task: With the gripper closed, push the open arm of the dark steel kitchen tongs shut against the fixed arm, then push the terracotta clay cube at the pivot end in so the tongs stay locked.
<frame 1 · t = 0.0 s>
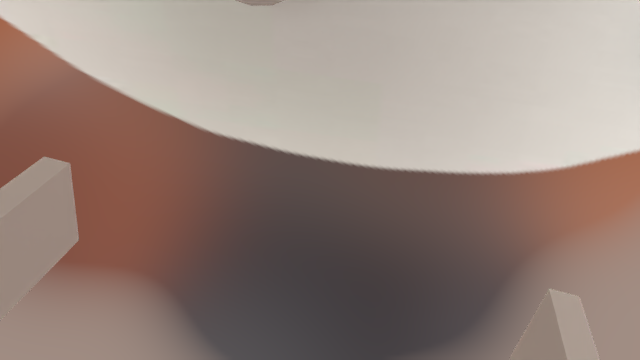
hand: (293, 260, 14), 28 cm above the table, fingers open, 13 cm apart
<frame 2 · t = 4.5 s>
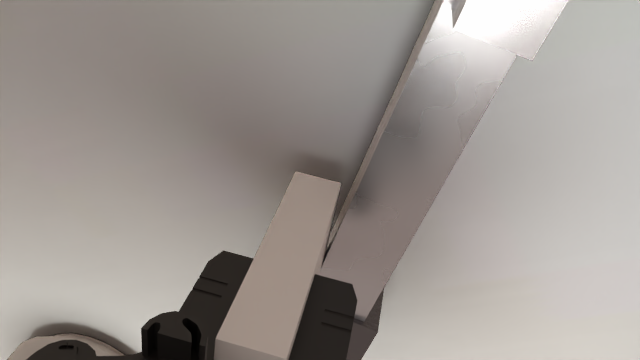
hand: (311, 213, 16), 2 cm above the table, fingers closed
tongs arm: (422, 138, 13), point 2 cm above the table, hinge at 39.3°, touching gripper
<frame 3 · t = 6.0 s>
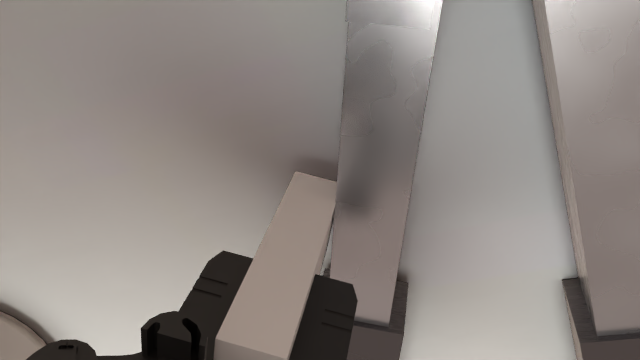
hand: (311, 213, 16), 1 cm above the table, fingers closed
tongs arm: (380, 132, 13), point 2 cm above the table, hinge at 23.1°, touching gripper
can: (6, 344, 27), on the table
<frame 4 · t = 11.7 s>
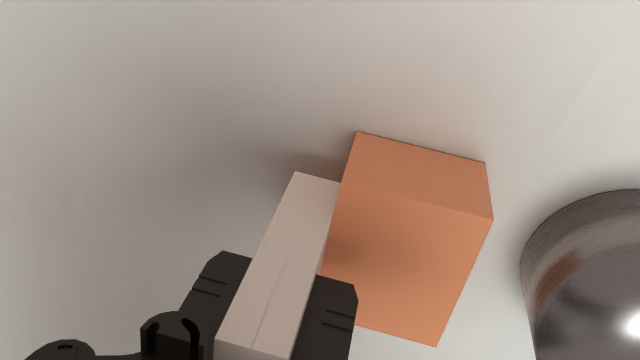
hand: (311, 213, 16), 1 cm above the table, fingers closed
terracotta clay cube: (396, 239, 16), point 1 cm above the table, slide at 1.8 cm, touching gripper
tongs fixed: (619, 268, 17), on the table
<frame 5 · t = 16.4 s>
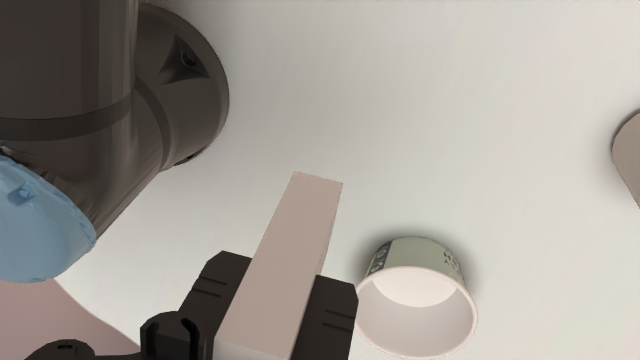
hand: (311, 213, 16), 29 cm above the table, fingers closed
food container: (414, 270, 54), on the table
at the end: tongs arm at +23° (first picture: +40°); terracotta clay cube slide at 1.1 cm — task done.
